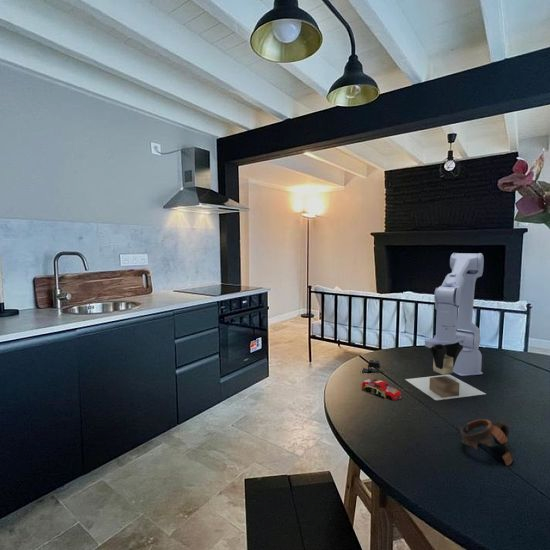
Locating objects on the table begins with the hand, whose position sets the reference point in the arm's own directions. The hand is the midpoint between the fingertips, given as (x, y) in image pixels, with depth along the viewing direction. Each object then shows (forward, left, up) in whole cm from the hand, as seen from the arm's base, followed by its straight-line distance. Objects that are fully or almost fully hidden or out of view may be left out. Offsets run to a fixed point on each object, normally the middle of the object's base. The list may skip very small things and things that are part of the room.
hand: (444, 366), depth 105 cm
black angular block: (+12, -22, -10) cm, 27 cm away
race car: (+19, -5, -9) cm, 22 cm away
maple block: (0, -1, -2) cm, 2 cm away
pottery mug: (+10, +28, -9) cm, 31 cm away
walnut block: (0, 0, -8) cm, 8 cm away
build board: (-3, -4, -9) cm, 10 cm away
